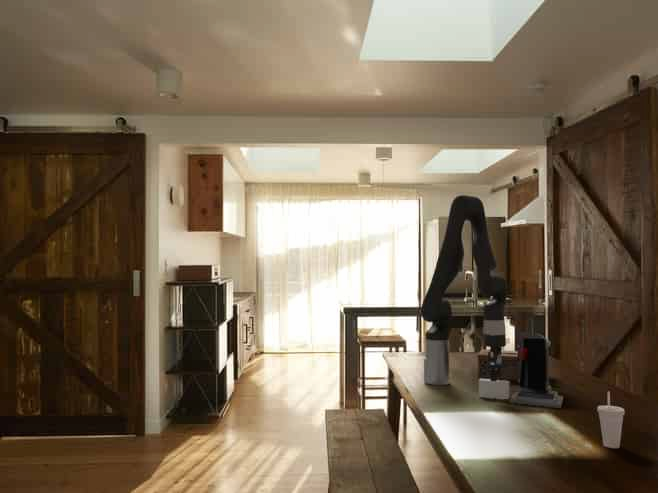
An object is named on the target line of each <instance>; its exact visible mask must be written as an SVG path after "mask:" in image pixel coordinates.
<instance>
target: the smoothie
mask: <svg viewBox="0 0 658 493" xmlns="http://www.w3.org/2000/svg"><path fill="white" fill-rule="evenodd" d="M606 393H607V404H606V405H603V404H602V405H598V406H597V412H598V416H599V421H600V430H601V436H602V443H603V444H602V445H603V447H606V448H610V449H619V448H620V445H621V444H620V443H621V439H622V438H621V437H622V428H623V421H624V415H625V414H626V413H625V409H624V408H623V407H620V406H616V405H615V406H614V405H611V394H610V393H611V392H610V391H607V392H606Z"/></svg>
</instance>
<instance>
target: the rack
mask: <svg viewBox="0 0 658 493" xmlns="http://www.w3.org/2000/svg"><path fill="white" fill-rule="evenodd" d="M563 401H564V396H563V395H559V393H558V391H556V390H551V391H549V390H538V389H527V388H524V387H520V388H518V389H517V391H516V390H515V391H514V392H513V393H512V395H510V398H509V404H514V403H517V405H523V404H527V405H526V406H533V405H536V406H535V407H542V406H544V407H545V408H554V409H562V405H563Z"/></svg>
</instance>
